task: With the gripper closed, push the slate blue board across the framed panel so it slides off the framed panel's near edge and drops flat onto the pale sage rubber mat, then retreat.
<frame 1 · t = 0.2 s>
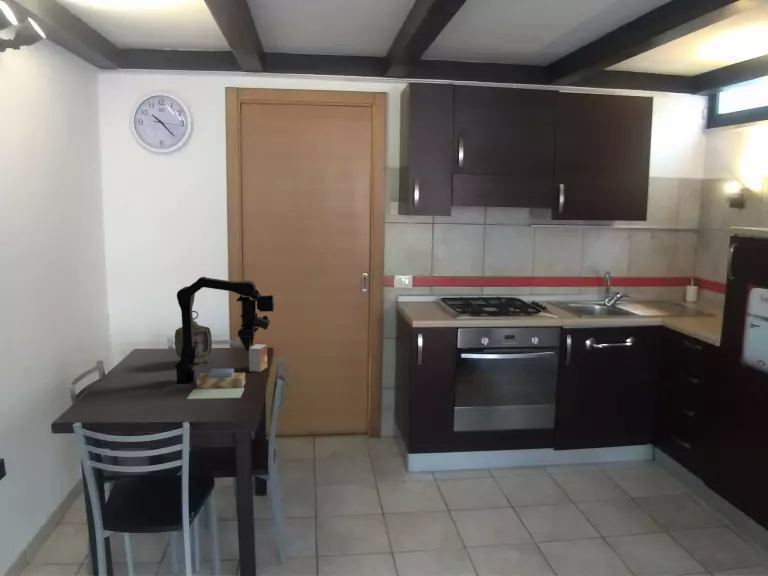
hand: (249, 348, 246), 14 cm above the table, fingers open, 9 cm apart
mat: (216, 393, 230), on the table
tabletop clock: (193, 364, 271), on the table
slate blue board: (221, 375, 241), point 4 cm above the table, touching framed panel
small box: (258, 369, 263), on the table
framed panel: (221, 385, 241), on the table
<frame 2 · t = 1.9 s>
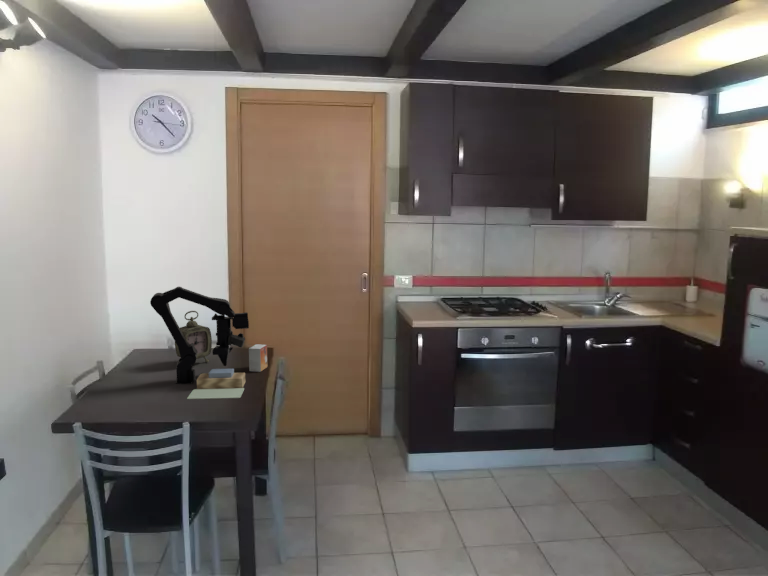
hand: (225, 365, 249), 6 cm above the table, fingers closed
nothing on the table moved.
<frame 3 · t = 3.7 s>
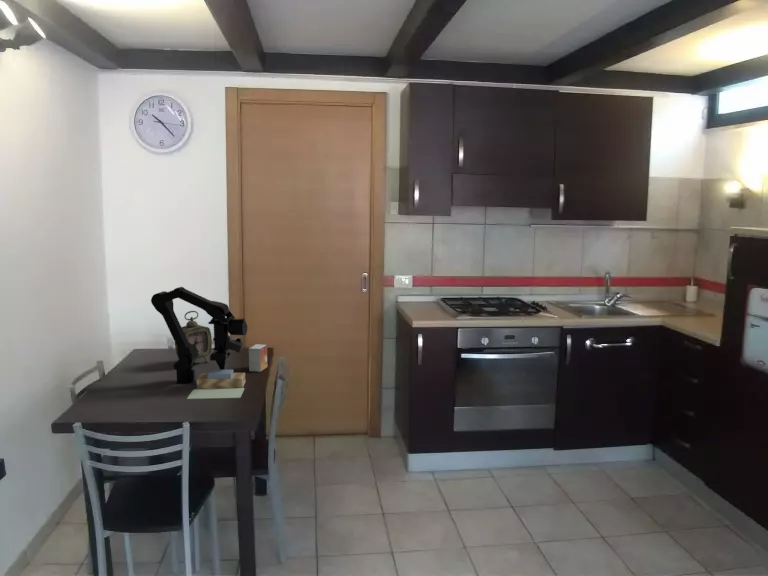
hand: (222, 371, 243), 5 cm above the table, fingers closed
slate blue board: (220, 376, 239), point 4 cm above the table
everything else where it was.
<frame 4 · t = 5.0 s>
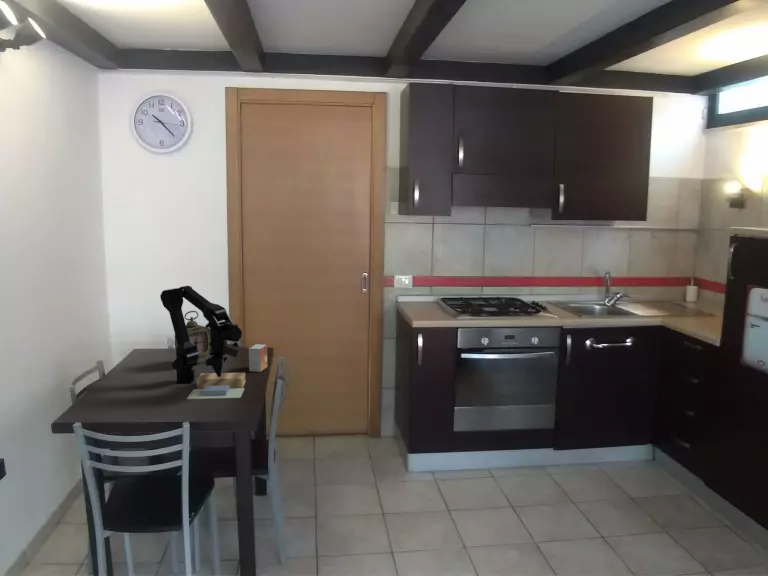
hand: (219, 376, 236), 5 cm above the table, fingers closed
slate blue board: (216, 388, 230), point 2 cm above the table, tilted 180°, touching mat
everything else where it was.
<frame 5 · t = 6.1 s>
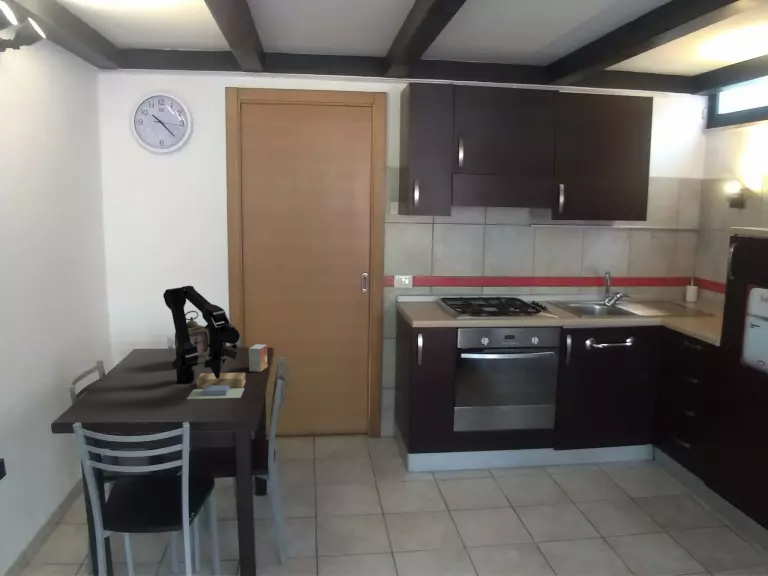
hand: (218, 378, 234), 5 cm above the table, fingers closed
nothing on the table moved.
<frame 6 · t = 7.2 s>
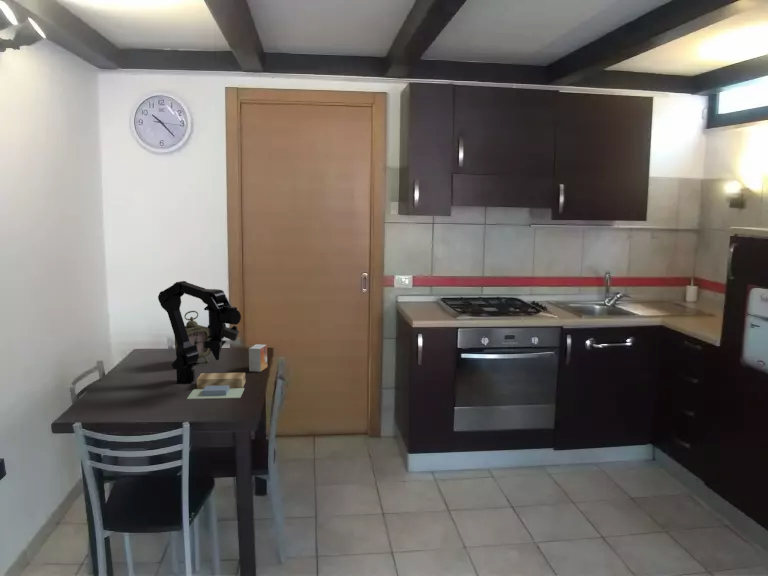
hand: (217, 359, 235), 12 cm above the table, fingers closed
nothing on the table moved.
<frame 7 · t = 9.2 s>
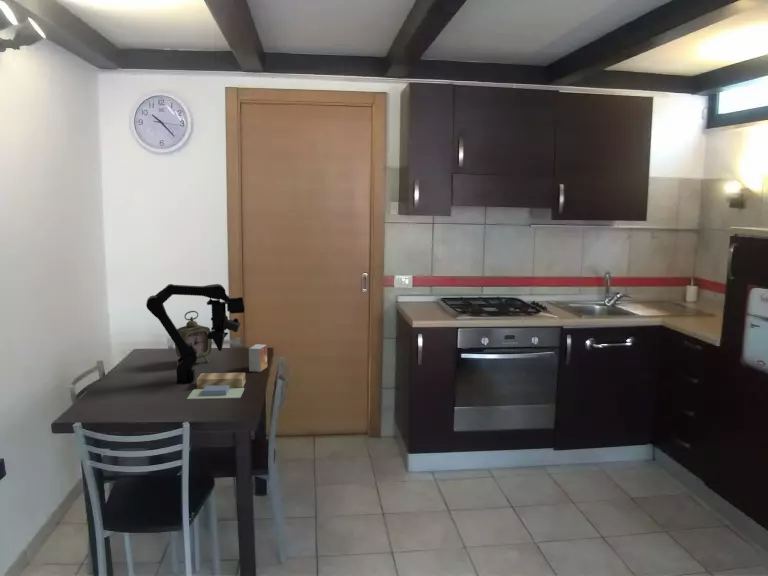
hand: (220, 350, 249), 12 cm above the table, fingers closed
nothing on the table moved.
at the end: slate blue board point 2.3 cm above the table; slate blue board inside the target area on the mat (0.4 cm from its centre), point 2.3 cm above the mat's base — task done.
